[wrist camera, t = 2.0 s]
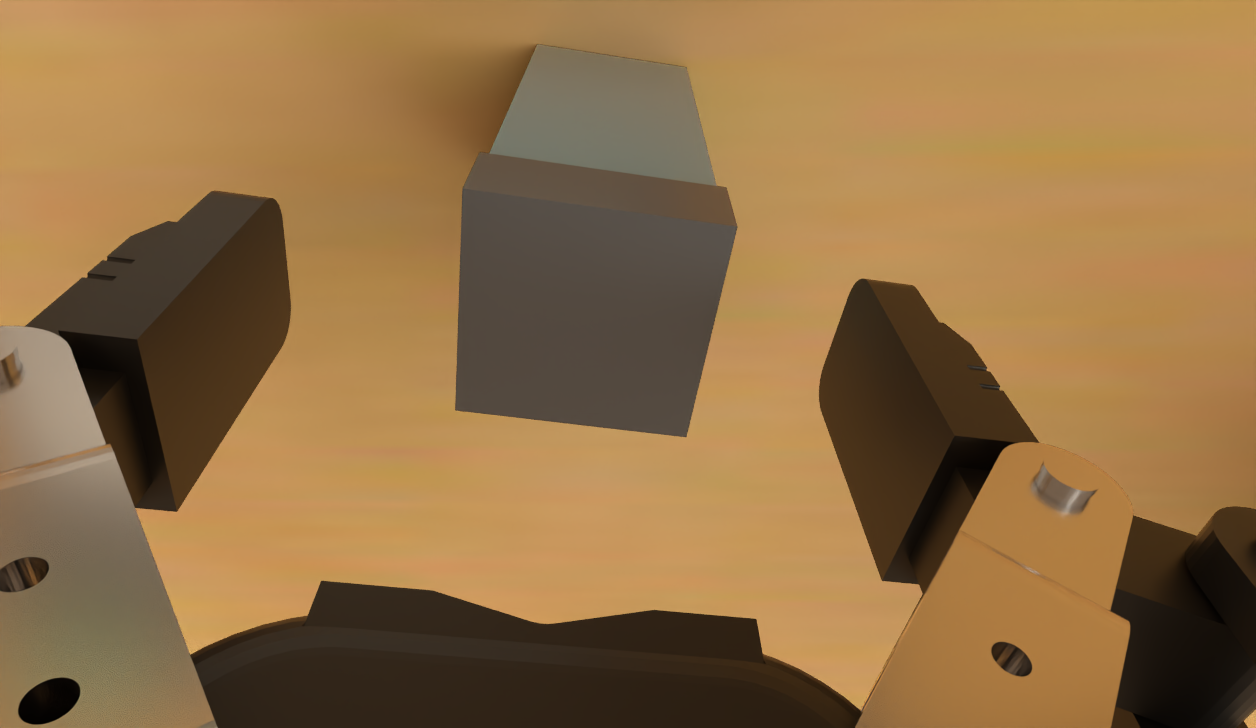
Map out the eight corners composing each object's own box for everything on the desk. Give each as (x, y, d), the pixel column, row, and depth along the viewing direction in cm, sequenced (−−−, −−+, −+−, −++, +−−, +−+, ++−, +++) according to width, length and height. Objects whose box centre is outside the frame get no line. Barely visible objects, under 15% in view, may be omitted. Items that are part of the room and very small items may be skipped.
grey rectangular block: (691, 63, 18) (737, 226, 10) (664, 210, 20) (686, 437, 12) (532, 39, 18) (462, 189, 10) (521, 191, 20) (455, 410, 12)
